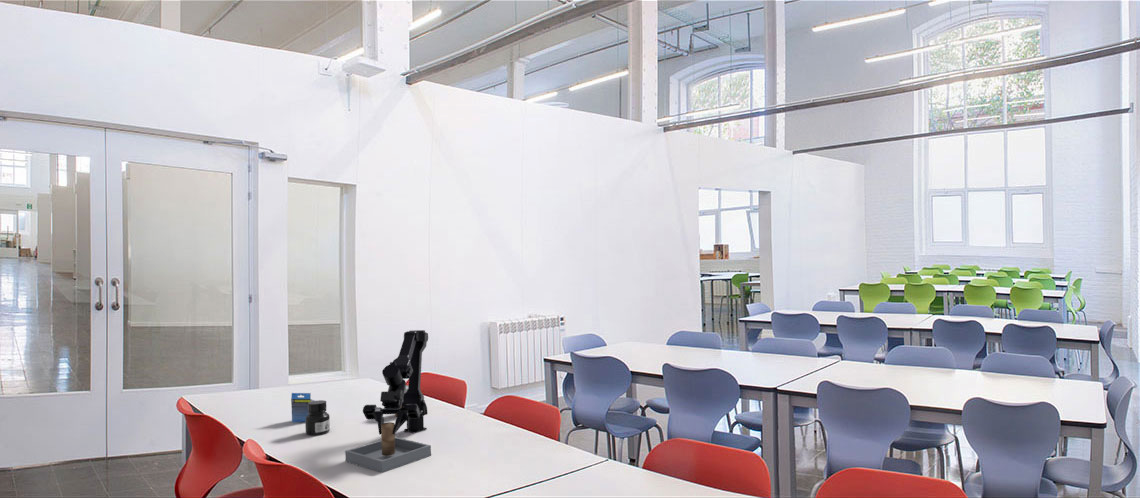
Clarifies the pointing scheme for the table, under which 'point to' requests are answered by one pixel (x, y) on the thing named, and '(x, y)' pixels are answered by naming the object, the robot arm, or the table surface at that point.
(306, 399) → the label tape box
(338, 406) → the table surface
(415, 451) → the tray
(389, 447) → the post
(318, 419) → the ink bottle
